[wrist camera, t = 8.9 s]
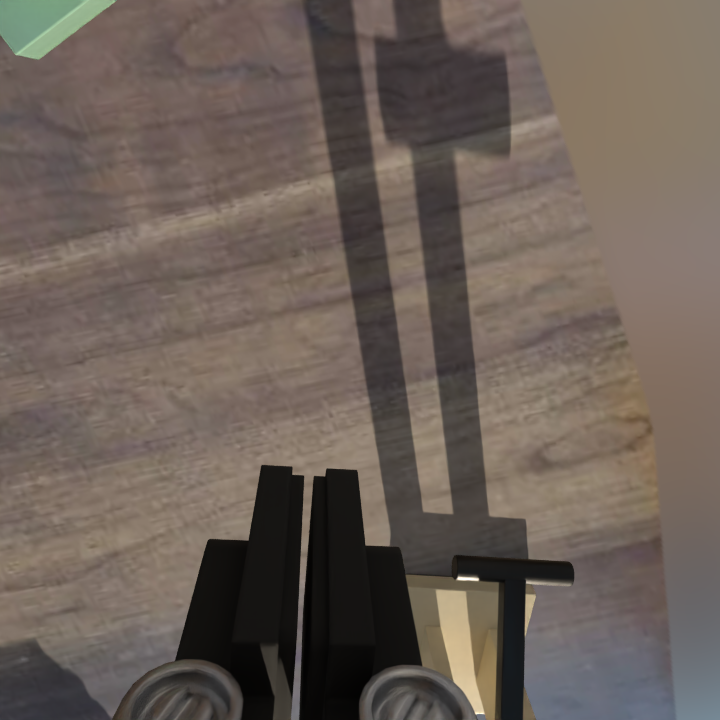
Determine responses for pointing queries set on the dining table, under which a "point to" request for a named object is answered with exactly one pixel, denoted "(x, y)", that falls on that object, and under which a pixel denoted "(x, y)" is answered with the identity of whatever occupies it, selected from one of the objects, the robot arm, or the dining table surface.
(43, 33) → the button box
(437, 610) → the bracket
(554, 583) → the lever
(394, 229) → the dining table surface
